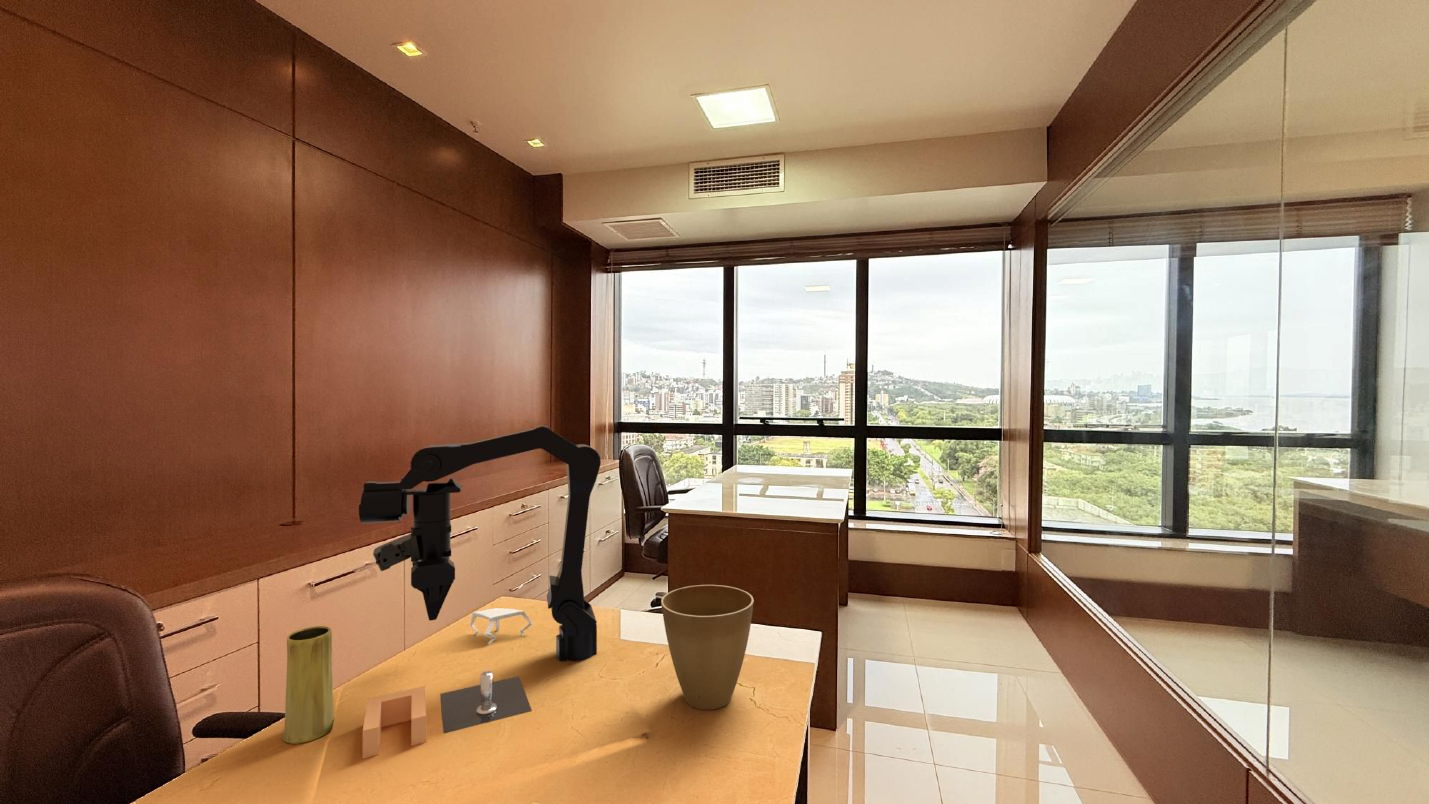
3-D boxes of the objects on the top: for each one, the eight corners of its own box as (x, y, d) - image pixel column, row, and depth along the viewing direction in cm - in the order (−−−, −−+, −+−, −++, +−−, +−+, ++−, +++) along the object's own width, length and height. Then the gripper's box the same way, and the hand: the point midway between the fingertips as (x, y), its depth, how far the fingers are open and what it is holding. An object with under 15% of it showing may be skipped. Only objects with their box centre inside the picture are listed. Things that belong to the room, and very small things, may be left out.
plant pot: (766, 685, 93) (766, 590, 93) (731, 734, 80) (731, 622, 80) (687, 667, 99) (687, 578, 99) (643, 709, 86) (643, 606, 86)
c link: (425, 712, 84) (425, 685, 84) (426, 744, 76) (426, 715, 76) (367, 725, 80) (367, 698, 80) (362, 761, 72) (362, 730, 72)
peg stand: (518, 681, 94) (518, 643, 94) (531, 717, 84) (531, 674, 84) (440, 699, 89) (440, 659, 89) (443, 740, 78) (443, 694, 78)
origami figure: (467, 649, 107) (467, 624, 107) (470, 632, 115) (470, 608, 115) (532, 641, 111) (532, 616, 111) (531, 625, 119) (531, 602, 119)
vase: (307, 747, 76) (307, 644, 76) (271, 741, 78) (271, 640, 78) (345, 722, 82) (345, 626, 82) (310, 717, 84) (311, 623, 84)
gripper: (380, 514, 99) (380, 601, 99) (373, 536, 83) (372, 641, 83) (449, 508, 104) (449, 591, 104) (455, 528, 88) (455, 626, 88)
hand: (431, 610), depth 95 cm, fingers open, 9 cm apart
